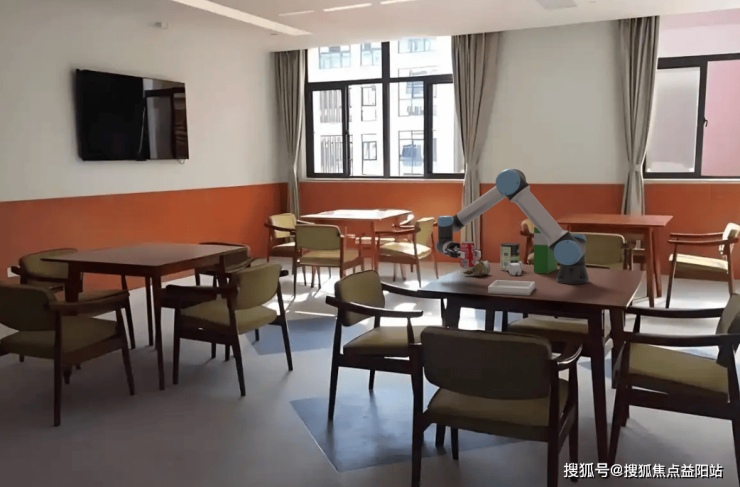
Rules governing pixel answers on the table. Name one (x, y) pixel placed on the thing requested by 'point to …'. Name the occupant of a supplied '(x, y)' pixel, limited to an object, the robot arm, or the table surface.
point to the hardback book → (543, 254)
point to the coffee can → (509, 254)
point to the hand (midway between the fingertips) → (472, 255)
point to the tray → (511, 287)
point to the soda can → (468, 254)
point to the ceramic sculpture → (479, 268)
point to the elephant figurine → (515, 268)
